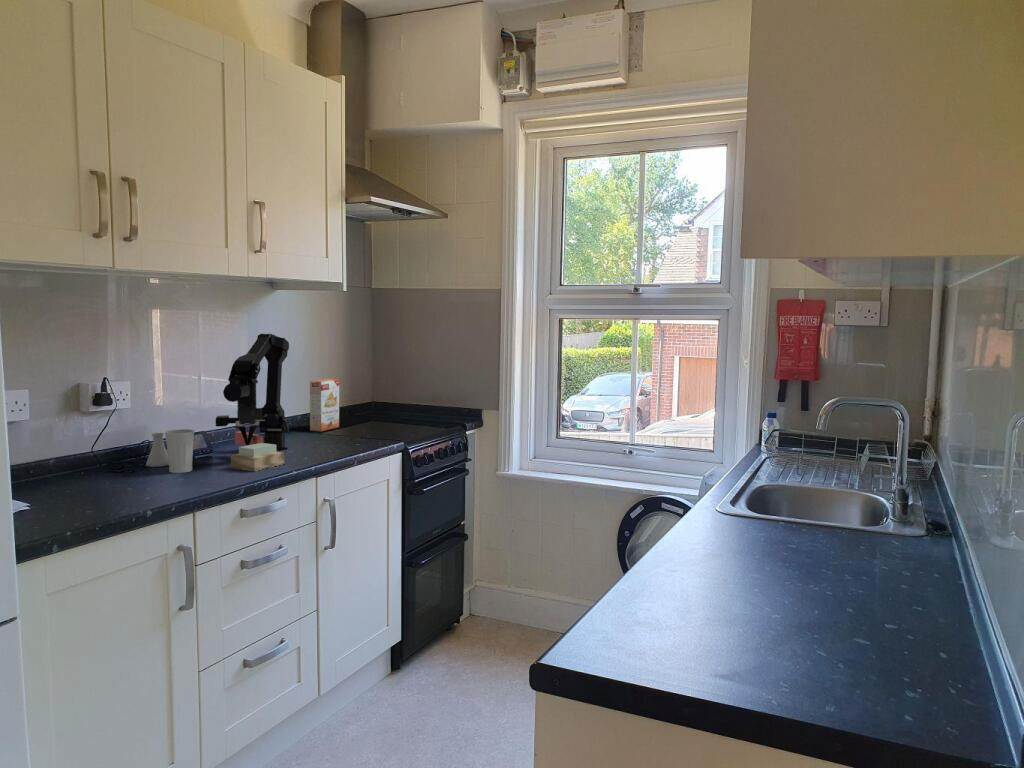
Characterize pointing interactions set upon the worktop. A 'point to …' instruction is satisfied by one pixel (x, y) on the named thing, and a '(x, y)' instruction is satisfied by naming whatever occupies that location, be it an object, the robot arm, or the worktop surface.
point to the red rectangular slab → (240, 439)
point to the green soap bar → (257, 449)
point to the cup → (180, 450)
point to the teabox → (257, 461)
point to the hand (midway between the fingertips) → (247, 446)
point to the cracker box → (324, 405)
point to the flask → (158, 452)
